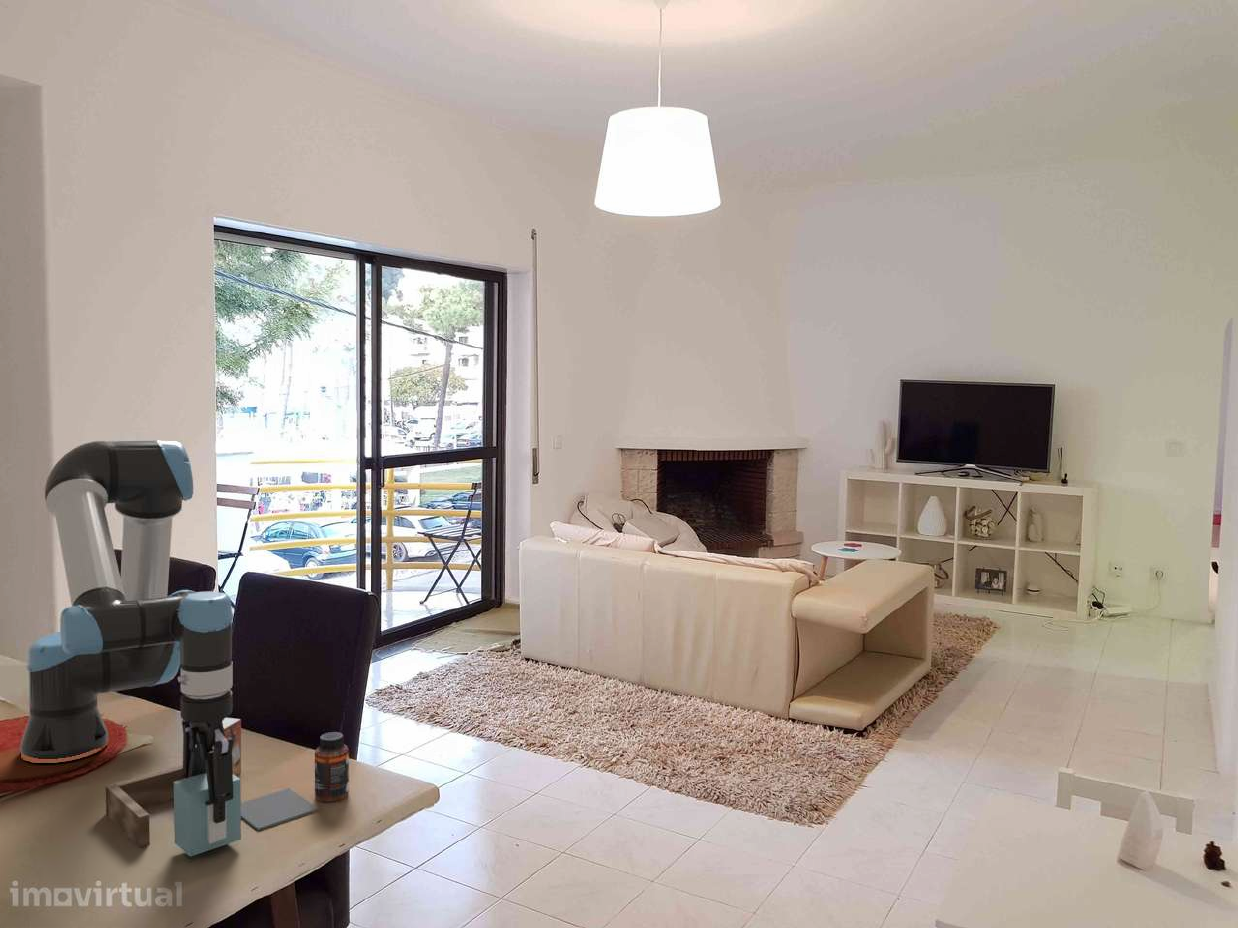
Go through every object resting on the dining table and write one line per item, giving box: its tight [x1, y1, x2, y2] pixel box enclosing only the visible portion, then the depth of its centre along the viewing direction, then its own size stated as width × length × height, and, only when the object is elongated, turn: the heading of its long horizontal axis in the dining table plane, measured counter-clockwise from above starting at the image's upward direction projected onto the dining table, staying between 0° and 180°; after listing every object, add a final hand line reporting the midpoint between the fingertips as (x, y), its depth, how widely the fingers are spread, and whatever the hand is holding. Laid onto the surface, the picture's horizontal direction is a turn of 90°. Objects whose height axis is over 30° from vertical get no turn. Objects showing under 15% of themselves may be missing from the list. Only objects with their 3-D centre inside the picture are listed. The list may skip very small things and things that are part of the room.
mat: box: [241, 787, 320, 831], centre depth 164 cm, size 11×11×1 cm
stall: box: [105, 764, 184, 848], centre depth 160 cm, size 16×15×5 cm
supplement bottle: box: [314, 731, 350, 803], centre depth 169 cm, size 6×6×11 cm
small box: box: [209, 717, 242, 776], centre depth 175 cm, size 8×6×10 cm
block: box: [173, 773, 242, 857], centre depth 149 cm, size 6×8×10 cm
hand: (207, 831), depth 149 cm, fingers closed on block, 6 cm apart
